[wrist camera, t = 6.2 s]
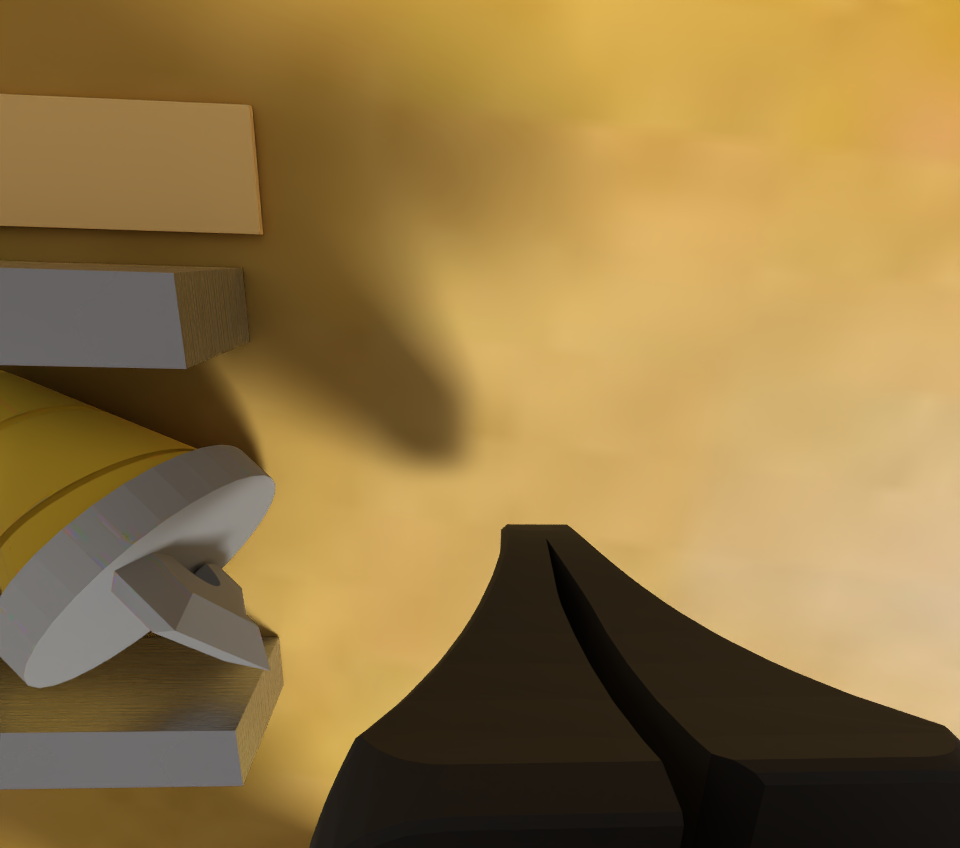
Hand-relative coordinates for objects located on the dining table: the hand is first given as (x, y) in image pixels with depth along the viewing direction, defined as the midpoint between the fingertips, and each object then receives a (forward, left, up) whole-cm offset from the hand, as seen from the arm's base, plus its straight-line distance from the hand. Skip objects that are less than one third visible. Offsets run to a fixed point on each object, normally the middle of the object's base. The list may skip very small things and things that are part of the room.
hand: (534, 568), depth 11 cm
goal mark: (+7, +10, -3) cm, 13 cm away
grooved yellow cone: (-2, +5, +1) cm, 6 cm away
